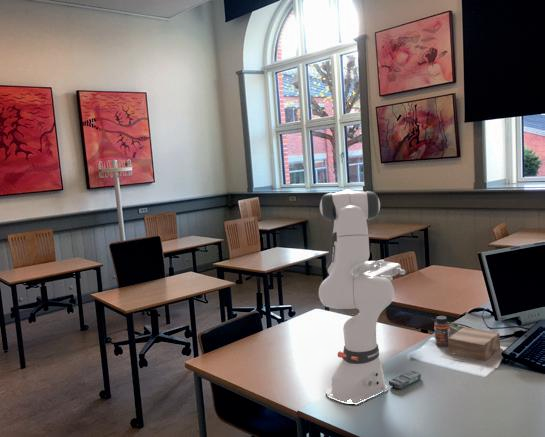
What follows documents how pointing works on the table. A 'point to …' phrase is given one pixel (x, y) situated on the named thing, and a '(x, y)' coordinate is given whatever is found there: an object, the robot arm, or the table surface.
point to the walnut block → (474, 343)
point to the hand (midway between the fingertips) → (398, 275)
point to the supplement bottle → (441, 331)
